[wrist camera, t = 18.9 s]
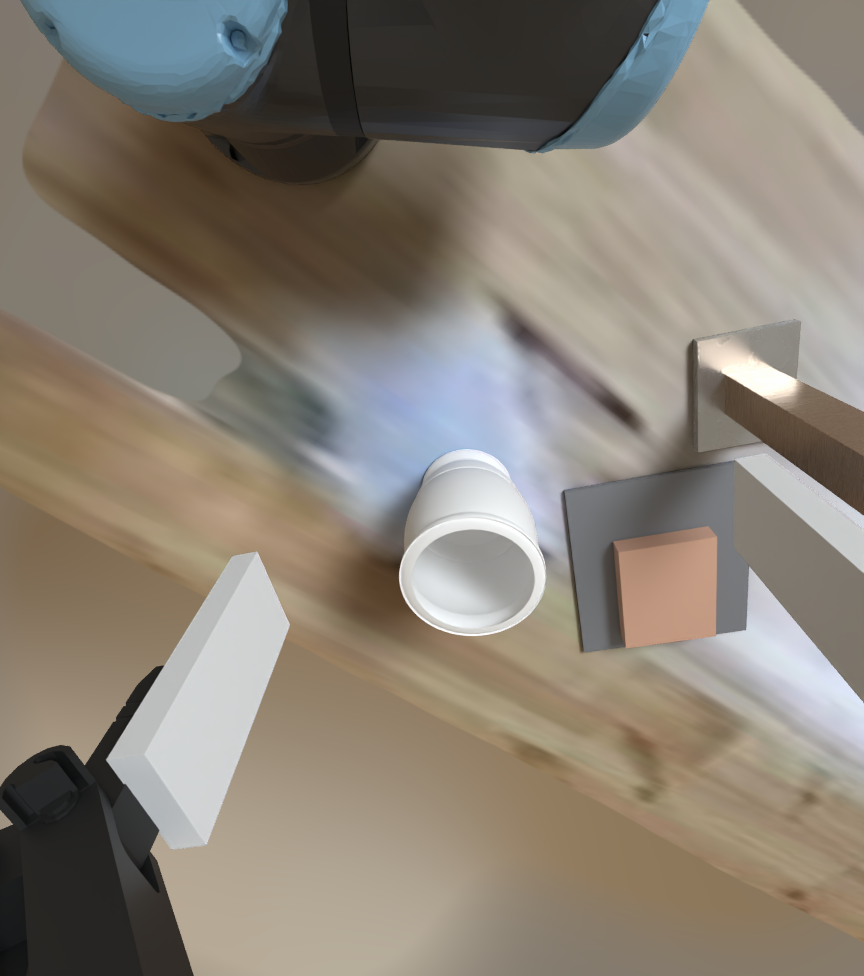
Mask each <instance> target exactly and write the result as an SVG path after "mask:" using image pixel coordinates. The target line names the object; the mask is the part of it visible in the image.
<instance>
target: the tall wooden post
mask: <svg viewBox="0 0 864 976" xmlns="http://www.w3.org/2000/svg"><path fill="white" fill-rule="evenodd" d="M800 327H801V321H798V320H795V319H793V320H788V321H783V322H778V323H773V324H768V325H763V326H758V327H753V328H748V329H743V330H738V331H732V332H727V333H722V334H717V335H712V336H707V337H702V338H697V339H693V402H694V449H695V450H696V451H697V452H698V453H699V452H705V451H711V450H716V449H722V448H728V447H733V446H739V445H745V444H750V443H756V442H762V441H763V442H764V443H765V444H767V445H768V446H769V447H771V448H772V449H774V450H775V451H776V452H778V453H779V454H780V455H782V456H783V457H785V458H786V459H787V460H789V461H790V462H791V463H793V464H794V465H795V466H797V467H798V468H800V469H801V470H802V471H804V472H805V473H806V474H808V475H809V476H810V477H812V478H813V479H815V480H816V481H817V482H819V483H820V484H821V485H823V486H824V487H825V488H827V489H828V490H830V491H831V492H832V493H834V494H835V495H836V496H838V497H839V498H840V499H842V500H843V501H845V502H846V503H847V504H849V505H850V506H851V507H853V508H854V509H856V510H857V511H858V512H860V513H861V514H862V515H864V412H863V411H861V410H859V409H856V408H854V407H852V406H850V405H848V404H846V403H844V402H842V401H840V400H838V399H836V398H834V397H832V396H830V395H828V394H825V393H823V392H821V391H819V390H817V389H815V388H813V387H811V386H809V385H807V384H805V383H803V382H801V381H799V380H797V367H798V354H799V341H800Z"/></svg>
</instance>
